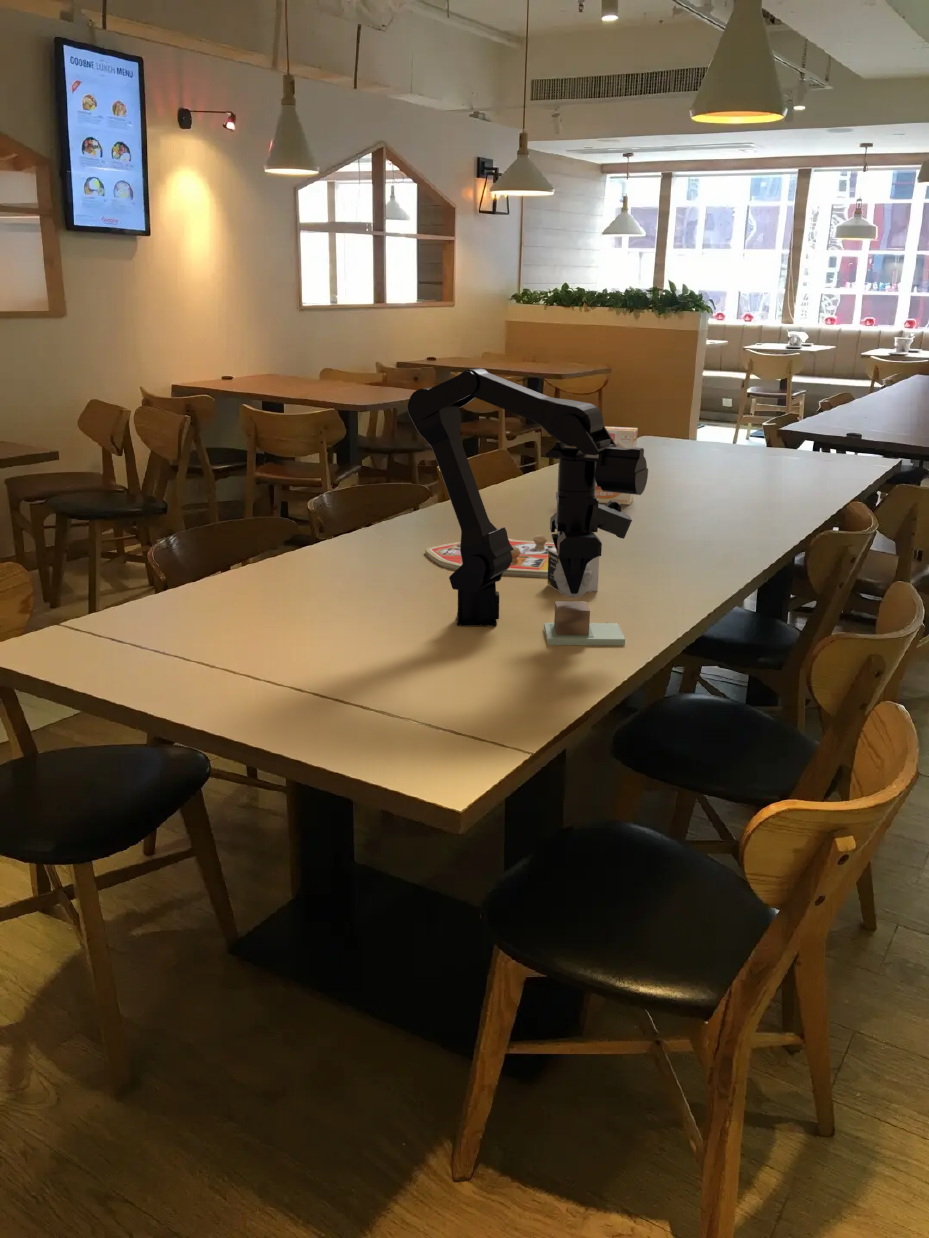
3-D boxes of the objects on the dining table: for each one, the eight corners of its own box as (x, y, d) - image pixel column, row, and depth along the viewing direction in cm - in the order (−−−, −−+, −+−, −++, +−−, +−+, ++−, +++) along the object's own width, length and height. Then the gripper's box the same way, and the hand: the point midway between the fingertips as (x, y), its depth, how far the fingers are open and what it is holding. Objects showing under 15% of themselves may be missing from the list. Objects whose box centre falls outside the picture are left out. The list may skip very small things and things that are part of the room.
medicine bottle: (546, 585, 186) (548, 522, 182) (580, 581, 188) (583, 520, 185) (563, 595, 180) (565, 530, 176) (598, 591, 182) (601, 527, 178)
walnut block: (557, 635, 155) (557, 610, 153) (554, 625, 159) (555, 601, 158) (588, 635, 155) (590, 610, 153) (585, 625, 159) (586, 601, 158)
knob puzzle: (555, 582, 190) (556, 560, 188) (406, 574, 196) (406, 552, 194) (572, 547, 217) (573, 527, 215) (441, 541, 223) (441, 521, 221)
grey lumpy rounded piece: (587, 590, 159) (589, 548, 157) (594, 602, 152) (597, 559, 150) (550, 590, 159) (551, 548, 157) (555, 603, 152) (557, 559, 150)
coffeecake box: (574, 501, 264) (576, 428, 258) (579, 497, 270) (581, 425, 264) (630, 505, 260) (634, 430, 254) (634, 500, 266) (638, 427, 260)
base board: (547, 644, 154) (547, 638, 153) (544, 628, 161) (544, 622, 161) (624, 645, 154) (625, 638, 153) (617, 628, 161) (617, 622, 161)
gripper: (639, 501, 141) (632, 605, 146) (620, 478, 159) (615, 572, 164) (561, 500, 141) (557, 604, 146) (551, 477, 159) (548, 571, 164)
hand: (572, 587), depth 155 cm, fingers closed on grey lumpy rounded piece, 7 cm apart
